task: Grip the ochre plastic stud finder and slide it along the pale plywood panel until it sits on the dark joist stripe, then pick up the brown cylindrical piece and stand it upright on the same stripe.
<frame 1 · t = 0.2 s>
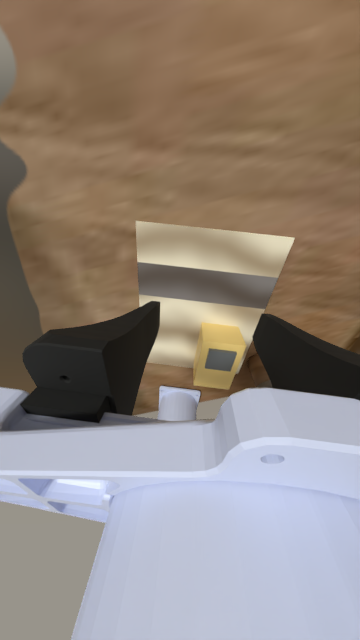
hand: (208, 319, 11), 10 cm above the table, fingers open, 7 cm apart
panel: (198, 311, 22), on the table
brown cylindrical piece: (258, 361, 26), on the table
stud finder: (213, 346, 24), point 1 cm above the table, touching panel
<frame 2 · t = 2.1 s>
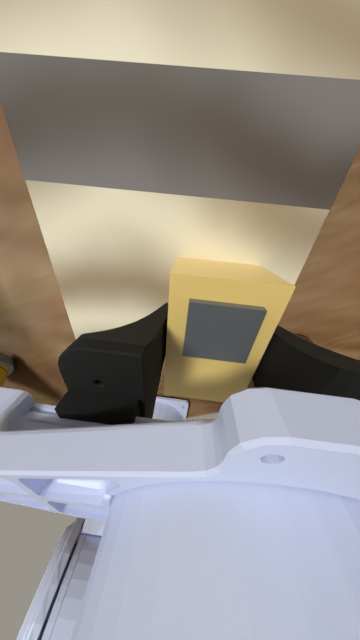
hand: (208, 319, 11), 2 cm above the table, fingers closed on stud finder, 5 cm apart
panel: (174, 236, 10), on the table
stud finder: (207, 317, 12), point 1 cm above the table, touching gripper, panel
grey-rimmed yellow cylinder: (10, 357, 18), on the table
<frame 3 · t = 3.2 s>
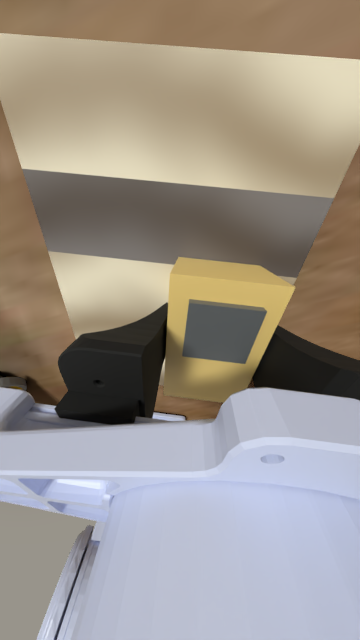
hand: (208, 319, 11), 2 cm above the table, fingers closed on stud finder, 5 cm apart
panel: (170, 288, 12), on the table
stud finder: (207, 317, 12), point 1 cm above the table, touching gripper
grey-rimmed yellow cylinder: (23, 377, 20), on the table
when the fingers open (2 cm above the table, at t = 4.7 s): stud finder stays where it is, resting on panel.
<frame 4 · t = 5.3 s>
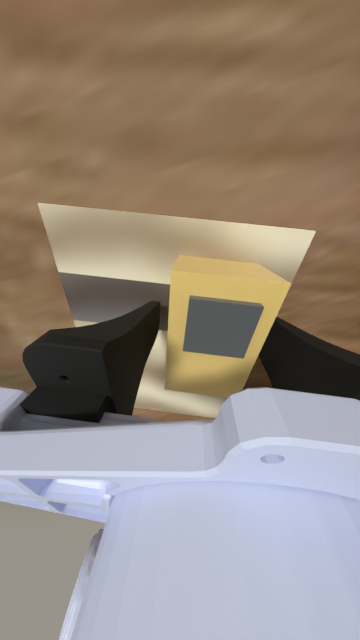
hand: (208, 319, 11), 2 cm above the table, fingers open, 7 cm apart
panel: (168, 340, 15), on the table
stud finder: (207, 314, 12), point 1 cm above the table, touching panel
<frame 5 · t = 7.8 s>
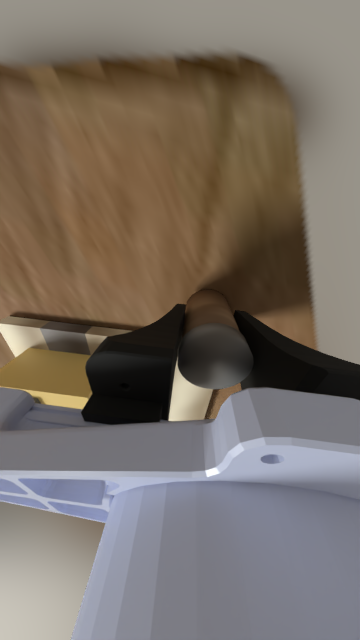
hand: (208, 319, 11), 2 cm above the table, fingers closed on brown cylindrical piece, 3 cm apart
panel: (122, 384, 19), on the table
brown cylindrical piece: (206, 309, 13), on the table, touching gripper
stud finder: (76, 371, 16), point 1 cm above the table, touching panel
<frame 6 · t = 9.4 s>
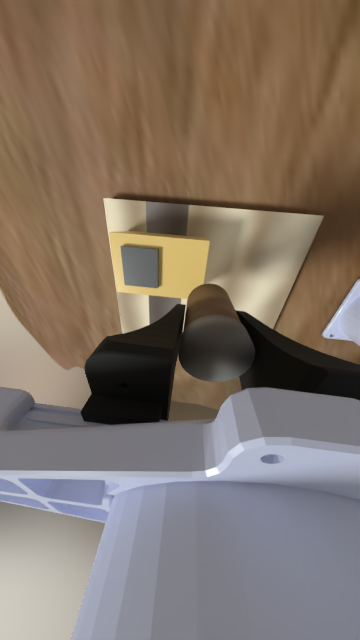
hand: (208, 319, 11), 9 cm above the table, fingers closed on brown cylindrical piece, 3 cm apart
panel: (198, 287, 20), on the table
brown cylindrical piece: (207, 304, 13), point 7 cm above the table, touching gripper
stud finder: (166, 260, 17), point 1 cm above the table, touching panel
when the fingers open (4 cm above the table, at t = 11.2 s): brown cylindrical piece stays where it is, resting on panel.
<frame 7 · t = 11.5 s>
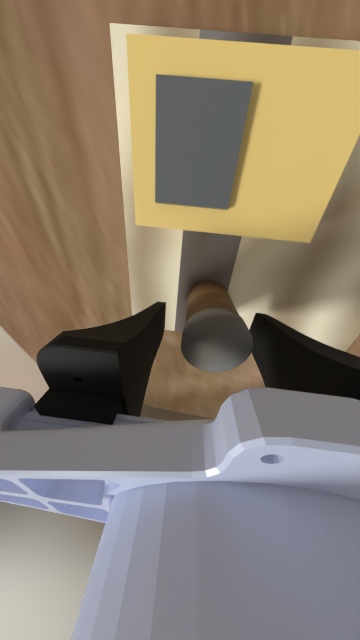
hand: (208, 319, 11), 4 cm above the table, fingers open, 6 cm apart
panel: (263, 243, 12), on the table
brown cylindrical piece: (207, 300, 13), point 1 cm above the table, touching panel
stud finder: (221, 183, 9), point 1 cm above the table, touching panel
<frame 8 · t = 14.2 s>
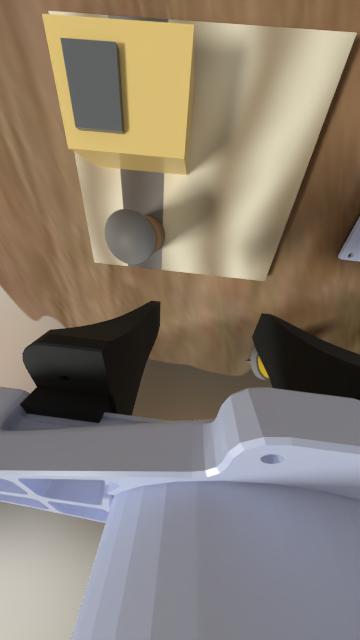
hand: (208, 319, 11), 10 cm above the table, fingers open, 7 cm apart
panel: (186, 185, 15), on the table
brown cylindrical piece: (149, 234, 17), point 1 cm above the table, touching panel
stud finder: (141, 130, 13), point 1 cm above the table, touching panel
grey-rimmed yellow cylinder: (263, 344, 25), on the table
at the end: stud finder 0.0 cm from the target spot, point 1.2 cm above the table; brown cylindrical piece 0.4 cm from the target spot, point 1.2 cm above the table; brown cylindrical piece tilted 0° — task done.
